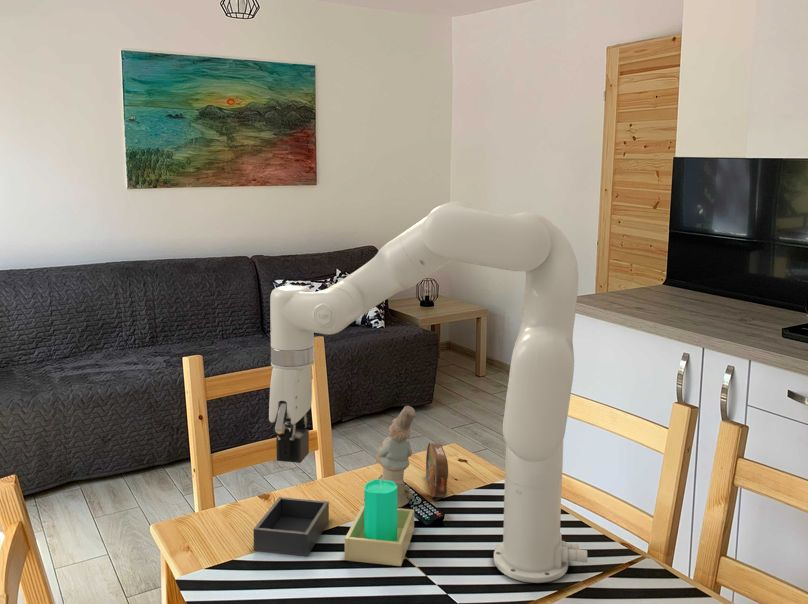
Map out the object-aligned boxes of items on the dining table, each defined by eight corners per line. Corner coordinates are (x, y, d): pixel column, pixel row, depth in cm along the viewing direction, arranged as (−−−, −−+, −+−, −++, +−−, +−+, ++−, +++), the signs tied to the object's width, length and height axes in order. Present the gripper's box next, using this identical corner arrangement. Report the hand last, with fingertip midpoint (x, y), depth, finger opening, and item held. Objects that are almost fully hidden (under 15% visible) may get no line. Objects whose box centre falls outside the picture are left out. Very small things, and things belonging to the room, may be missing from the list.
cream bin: (414, 529, 132) (414, 509, 132) (401, 566, 120) (401, 544, 120) (362, 524, 134) (362, 504, 134) (344, 560, 122) (344, 538, 122)
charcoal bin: (328, 521, 135) (328, 501, 135) (307, 556, 123) (307, 534, 123) (279, 516, 137) (279, 496, 136) (253, 550, 125) (253, 529, 124)
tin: (424, 473, 157) (425, 436, 156) (439, 472, 157) (439, 436, 156) (433, 505, 142) (434, 465, 141) (449, 504, 142) (450, 464, 141)
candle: (393, 552, 124) (393, 487, 122) (359, 548, 125) (359, 483, 123) (400, 535, 130) (401, 472, 128) (369, 531, 131) (369, 469, 129)
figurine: (420, 506, 142) (421, 409, 139) (380, 513, 138) (380, 414, 136) (403, 487, 150) (404, 395, 147) (365, 494, 147) (365, 400, 144)
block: (308, 453, 130) (308, 429, 129) (300, 463, 126) (300, 438, 125) (285, 451, 131) (285, 427, 130) (276, 460, 126) (276, 436, 126)
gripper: (288, 343, 135) (289, 435, 137) (253, 367, 118) (254, 472, 120) (327, 345, 133) (327, 438, 136) (296, 370, 117) (297, 476, 119)
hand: (293, 453), depth 128 cm, fingers closed on block, 4 cm apart
